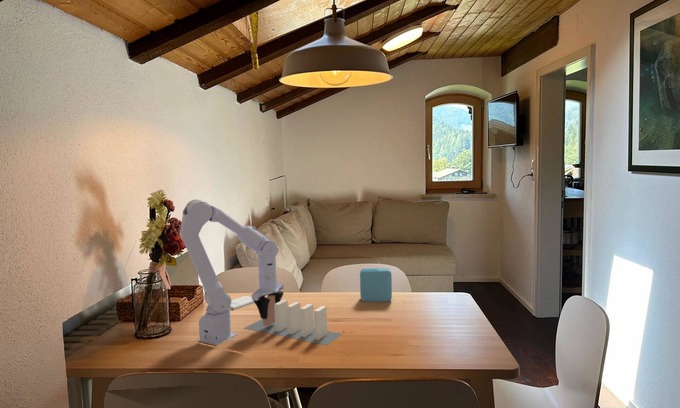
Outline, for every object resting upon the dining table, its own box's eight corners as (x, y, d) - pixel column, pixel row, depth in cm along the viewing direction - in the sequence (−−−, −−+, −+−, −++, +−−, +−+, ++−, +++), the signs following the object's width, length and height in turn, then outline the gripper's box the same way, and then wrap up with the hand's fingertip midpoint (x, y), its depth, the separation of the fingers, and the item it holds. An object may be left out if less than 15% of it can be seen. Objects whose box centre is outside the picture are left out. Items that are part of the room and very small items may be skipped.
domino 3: (292, 334, 149) (291, 306, 148) (287, 333, 150) (287, 306, 149) (300, 329, 154) (300, 302, 153) (296, 328, 154) (295, 301, 154)
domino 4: (305, 337, 147) (304, 309, 146) (301, 336, 148) (300, 308, 147) (313, 331, 151) (313, 304, 150) (309, 331, 152) (308, 303, 151)
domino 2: (279, 332, 152) (278, 304, 151) (275, 331, 152) (274, 304, 152) (288, 326, 156) (287, 300, 155) (284, 326, 157) (283, 299, 156)
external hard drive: (258, 302, 186) (234, 311, 176) (245, 299, 191) (220, 307, 181) (258, 298, 186) (234, 307, 176) (244, 295, 191) (220, 303, 181)
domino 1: (266, 326, 154) (265, 299, 153) (262, 325, 155) (261, 298, 154) (276, 321, 158) (275, 295, 157) (272, 320, 159) (271, 294, 158)
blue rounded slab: (390, 297, 187) (390, 268, 186) (391, 301, 183) (391, 270, 181) (360, 298, 187) (359, 268, 186) (360, 301, 183) (360, 271, 182)
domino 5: (318, 339, 144) (318, 311, 144) (314, 339, 145) (313, 310, 144) (327, 334, 149) (326, 306, 148) (322, 333, 150) (322, 305, 149)
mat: (326, 346, 140) (326, 345, 140) (243, 329, 156) (243, 328, 156) (342, 335, 149) (342, 333, 149) (262, 320, 164) (262, 318, 164)
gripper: (263, 282, 147) (265, 324, 148) (290, 271, 159) (291, 310, 161) (245, 279, 150) (247, 321, 152) (273, 269, 163) (275, 308, 164)
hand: (269, 315), depth 156 cm, fingers closed on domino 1, 5 cm apart
